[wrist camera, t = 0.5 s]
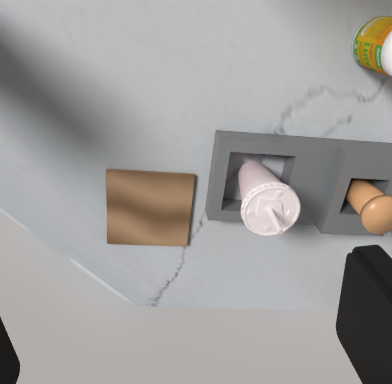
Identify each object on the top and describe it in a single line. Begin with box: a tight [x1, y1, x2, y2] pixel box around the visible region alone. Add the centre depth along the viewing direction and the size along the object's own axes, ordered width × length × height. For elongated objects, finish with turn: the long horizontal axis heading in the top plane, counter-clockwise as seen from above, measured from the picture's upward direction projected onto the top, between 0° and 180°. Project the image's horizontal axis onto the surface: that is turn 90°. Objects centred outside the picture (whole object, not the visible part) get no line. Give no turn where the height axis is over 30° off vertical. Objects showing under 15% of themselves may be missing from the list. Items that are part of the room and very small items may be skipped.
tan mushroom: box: [344, 178, 392, 234], centre depth 43 cm, size 5×5×7 cm
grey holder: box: [205, 130, 392, 236], centre depth 46 cm, size 11×23×5 cm, turn 84°
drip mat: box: [106, 169, 195, 246], centre depth 48 cm, size 11×11×1 cm
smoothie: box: [238, 161, 300, 236], centre depth 41 cm, size 6×6×14 cm
